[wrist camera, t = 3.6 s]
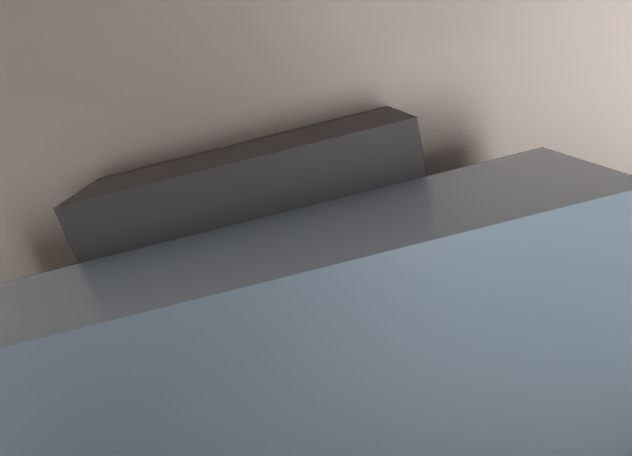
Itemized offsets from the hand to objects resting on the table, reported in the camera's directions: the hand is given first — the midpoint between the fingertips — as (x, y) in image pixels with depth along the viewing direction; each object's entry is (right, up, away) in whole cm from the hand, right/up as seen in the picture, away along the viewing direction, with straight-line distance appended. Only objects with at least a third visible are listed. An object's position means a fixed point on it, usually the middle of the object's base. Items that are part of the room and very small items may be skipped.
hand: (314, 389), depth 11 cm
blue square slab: (0, 0, -2) cm, 2 cm away
